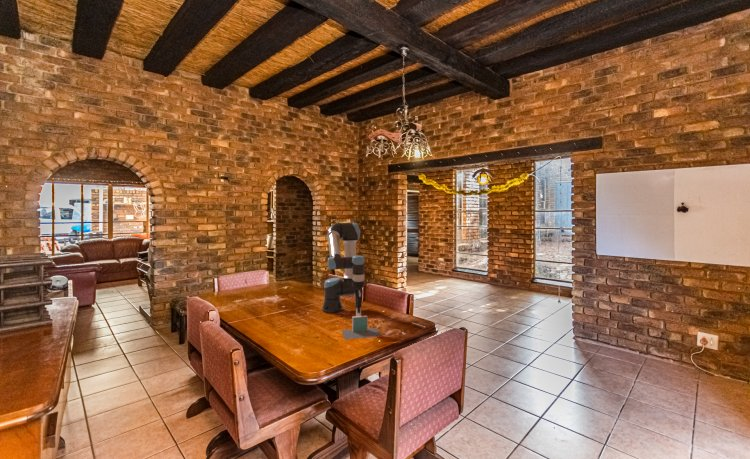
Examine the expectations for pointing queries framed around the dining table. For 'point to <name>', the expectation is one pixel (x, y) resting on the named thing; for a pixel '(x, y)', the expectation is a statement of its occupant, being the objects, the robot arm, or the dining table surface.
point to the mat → (361, 333)
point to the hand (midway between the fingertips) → (358, 317)
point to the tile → (359, 323)
